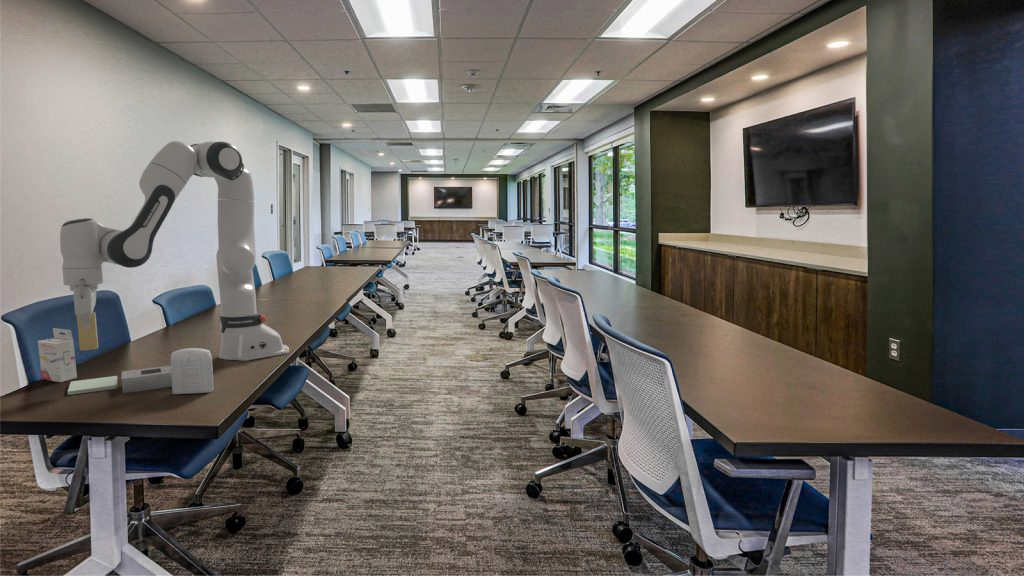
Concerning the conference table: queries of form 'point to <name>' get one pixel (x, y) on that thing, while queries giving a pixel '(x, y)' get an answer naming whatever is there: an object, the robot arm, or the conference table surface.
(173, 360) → the photo printer
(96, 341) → the brass peg
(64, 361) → the ink cartridge box
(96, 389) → the sage mat
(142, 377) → the grey block with holes
